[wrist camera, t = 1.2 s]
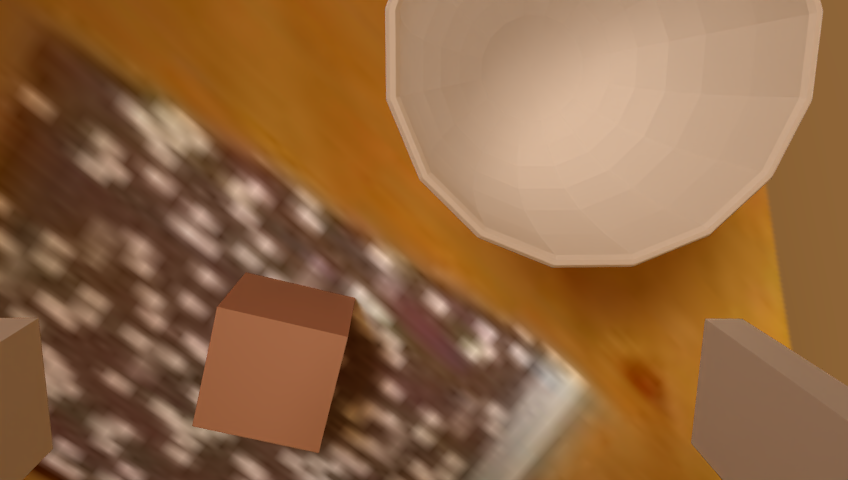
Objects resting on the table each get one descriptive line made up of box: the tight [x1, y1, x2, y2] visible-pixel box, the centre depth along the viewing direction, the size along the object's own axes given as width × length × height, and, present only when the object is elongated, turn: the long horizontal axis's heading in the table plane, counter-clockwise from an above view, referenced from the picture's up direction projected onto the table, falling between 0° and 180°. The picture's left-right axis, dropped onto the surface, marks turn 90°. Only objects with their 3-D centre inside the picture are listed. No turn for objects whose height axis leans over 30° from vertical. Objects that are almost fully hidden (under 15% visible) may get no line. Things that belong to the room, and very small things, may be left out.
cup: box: [385, 0, 823, 268], centre depth 26 cm, size 12×12×17 cm
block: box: [192, 272, 355, 453], centre depth 34 cm, size 6×6×6 cm
